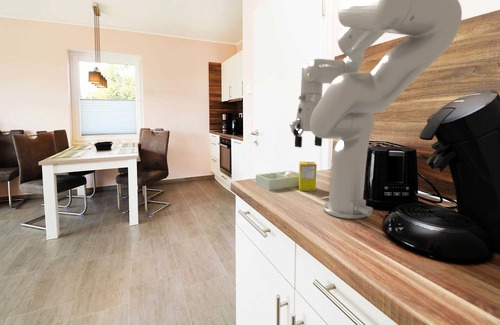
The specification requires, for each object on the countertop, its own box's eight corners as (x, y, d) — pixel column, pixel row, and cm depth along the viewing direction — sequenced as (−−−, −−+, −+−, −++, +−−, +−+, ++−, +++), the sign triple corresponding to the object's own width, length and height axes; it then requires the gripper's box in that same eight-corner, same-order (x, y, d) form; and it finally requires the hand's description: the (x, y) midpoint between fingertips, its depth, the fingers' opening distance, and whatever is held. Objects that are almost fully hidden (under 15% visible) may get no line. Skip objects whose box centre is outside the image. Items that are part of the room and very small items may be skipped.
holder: (305, 186, 107) (306, 175, 107) (269, 191, 99) (269, 179, 98) (290, 180, 116) (291, 170, 115) (255, 185, 107) (255, 174, 107)
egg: (297, 183, 108) (298, 172, 108) (288, 185, 106) (288, 173, 105) (290, 181, 113) (290, 169, 112) (280, 182, 110) (281, 171, 110)
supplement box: (313, 188, 104) (314, 161, 102) (315, 193, 98) (317, 164, 96) (298, 188, 104) (299, 161, 103) (299, 192, 99) (300, 163, 97)
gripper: (298, 98, 88) (296, 148, 91) (335, 100, 96) (332, 146, 99) (285, 99, 94) (283, 146, 98) (321, 100, 103) (318, 144, 106)
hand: (308, 146), depth 99 cm, fingers open, 9 cm apart
